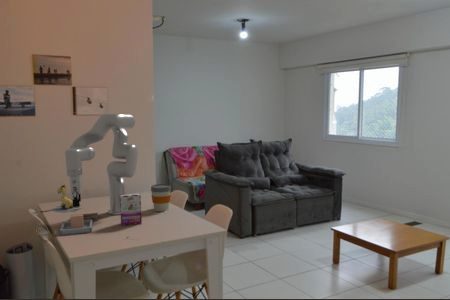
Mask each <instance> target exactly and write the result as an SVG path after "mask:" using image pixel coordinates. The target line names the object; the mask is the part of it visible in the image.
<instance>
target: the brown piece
mask: <svg viewBox="0 0 450 300" xmlns="http://www.w3.org/2000/svg"><path fill="white" fill-rule="evenodd" d="M80 214H81V213H80ZM80 214H77V215H80ZM82 214H83V220H92V222H97V221H98V220H99V219H98V217H99V216H98V215H99V213H98V212H92V213H82Z"/></svg>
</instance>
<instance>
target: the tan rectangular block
mask: <svg viewBox="0 0 450 300" xmlns="http://www.w3.org/2000/svg"><path fill="white" fill-rule="evenodd" d="M83 214H84V213H80V215H78V214H70V218H69V219H70V222H71V229H76V228H84V224H83Z"/></svg>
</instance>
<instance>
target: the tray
mask: <svg viewBox="0 0 450 300" xmlns="http://www.w3.org/2000/svg"><path fill="white" fill-rule="evenodd" d="M93 223H94V222H93V221H92V220H83V224H84V228H76V229H71V221H62V223H61V227H60V229H59V235H60V236H68V235H69V234H70V235H77V234H78V235H79V233H80V234H87V233H88V232H90V233H92V231H93ZM70 235H69V236H70Z"/></svg>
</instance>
